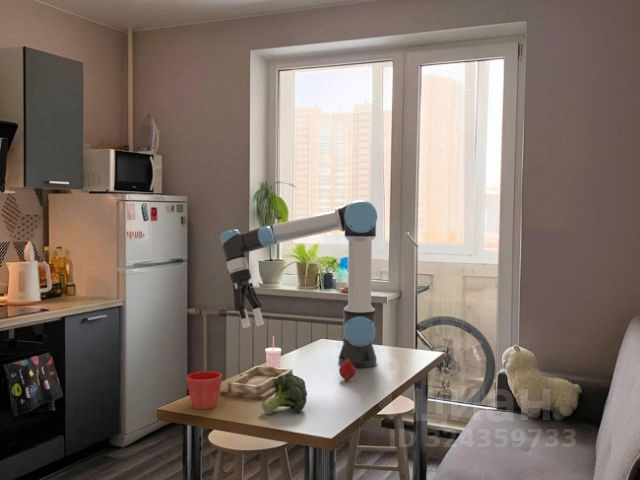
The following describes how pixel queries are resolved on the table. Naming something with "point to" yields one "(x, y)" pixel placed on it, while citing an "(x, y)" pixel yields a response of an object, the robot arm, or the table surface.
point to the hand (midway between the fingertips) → (253, 326)
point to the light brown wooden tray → (255, 383)
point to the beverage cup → (273, 356)
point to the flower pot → (204, 389)
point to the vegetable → (287, 394)
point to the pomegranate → (347, 370)
